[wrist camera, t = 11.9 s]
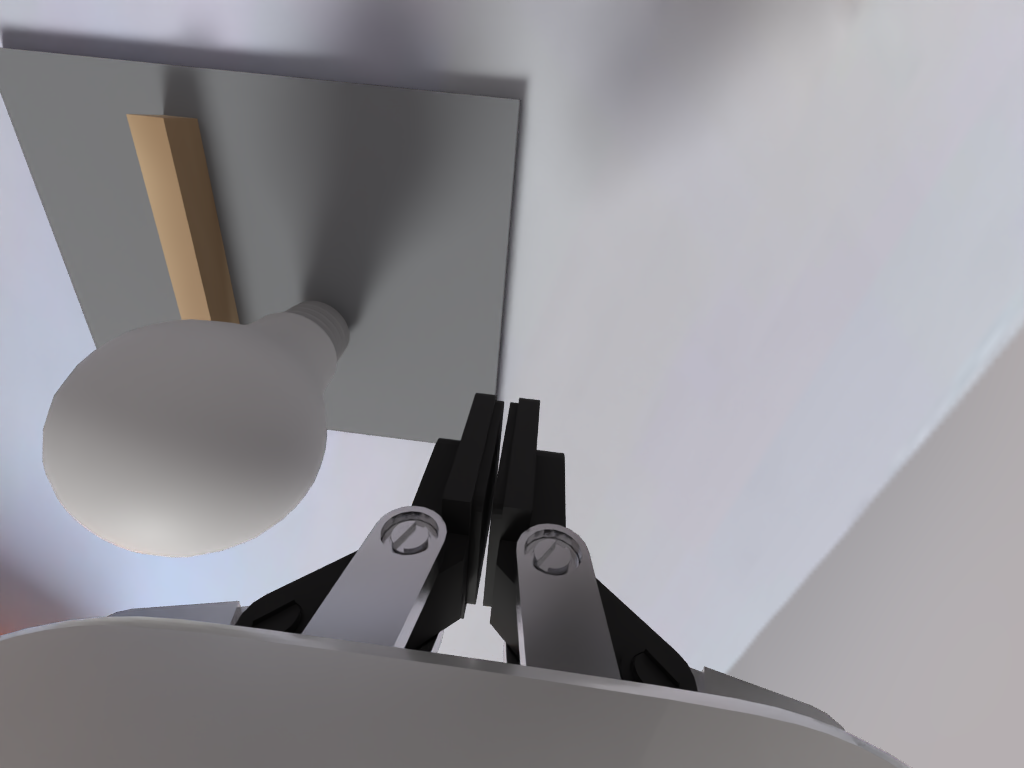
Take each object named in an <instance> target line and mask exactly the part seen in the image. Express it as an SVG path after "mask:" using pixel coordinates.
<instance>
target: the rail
mask: <svg viewBox="0 0 1024 768" xmlns="http://www.w3.org/2000/svg"><path fill="white" fill-rule="evenodd" d="M126 115H127V119H128V123H129V126H130V130H131V134H132V137H133V141H134V145H135V149H136V152H137V156H138V160H139V163H140V167H141V171H142V175H143V178H144V182H145V186H146V189H147V193H148V197H149V201H150V204H151V208H152V212H153V215H154V219H155V223H156V226H157V230H158V234H159V238H160V241H161V245H162V249H163V252H164V256H165V260H166V264H167V267H168V271H169V275H170V278H171V282H172V286H173V290H174V293H175V297H176V301H177V304H178V308H179V312H180V315H181V319H182V320H187V319H195V320H208V321H220V322H229V323H236V324H240V323H239V318H238V313H237V308H236V303H235V299H234V294H233V289H232V284H231V279H230V274H229V270H228V265H227V260H226V255H225V250H224V245H223V241H222V236H221V231H220V226H219V221H218V216H217V212H216V207H215V202H214V197H213V192H212V187H211V182H210V178H209V173H208V168H207V163H206V158H205V153H204V149H203V144H202V139H201V134H200V129H199V124H198V120H197V119H196V118H187V117H177V116H168V115H142V114H126Z"/></svg>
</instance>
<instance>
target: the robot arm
mask: <svg viewBox="0 0 1024 768" xmlns="http://www.w3.org/2000/svg"><path fill="white" fill-rule="evenodd" d="M539 408H540V400H533V399H525V398H519V403H512V402H511V403H510V408H509V414H508V419H507V425H506V430H505V436H504V442H503V447H502V453H501V458H500V464H499V470H498V463H499V452H500V442H501V431H502V420H503V410H504V401H497V395H492V394H484V393H476V394H475V396H474V399H473V403H472V406H471V409H470V412H469V415H468V418H467V422H466V425H465V428H464V431H463V434H462V437H461V440H453V439H445V438H439V439H438V440H437V442H436V445H435V447H434V450H433V452H432V455H431V457H430V460H429V462H428V465H427V468H426V470H425V473H424V475H423V478H422V480H421V483H420V486H419V488H418V491H417V493H416V496H415V498H414V501H413V503H412V506H408V507H401V508H398V509H395V510H392V511H391V512H389V513H387V514H386V515H384V516H383V517H382V518H381V519H380V520H379V521H378V522H377V523H376V525H375V526H374V528H373V529H372V531H371V532H370V533H369V535H368V536H367V538H366V539H365V541H364V542H363V544H362V545H361V547H360V548H359V550H358V551H356V552H354V553H351V554H349V555H347V556H345V557H343V558H341V559H339V560H337V561H335V562H333V563H331V564H329V565H327V566H325V567H322V568H320V569H318V570H316V571H314V572H312V573H310V574H308V575H306V576H304V577H302V578H300V579H298V580H296V581H293V582H291V583H289V584H287V585H285V586H283V587H281V588H279V589H277V590H275V591H273V592H271V593H269V594H267V595H265V596H263V597H262V598H260V599H258V600H257V601H255V602H253V603H252V604H251V605H250V606H245V607H241V606H240V603H239V601H233V602H219V603H205V604H192V605H178V606H165V607H151V608H137V609H129V610H125V611H120V612H116V613H114V614H111V615H109V616H107V617H96V618H86V619H75V620H66V621H61V622H56V623H51V624H46V625H41V626H36V627H31V628H26V629H22V630H19V631H15V632H12V633H8V634H4V635H1V636H0V768H912V767H910V766H909V765H907V764H906V763H904V762H902V761H901V760H899V759H898V758H896V757H894V756H893V755H891V754H889V753H888V752H886V751H884V750H882V749H880V748H878V747H876V746H874V745H872V744H870V743H868V742H866V741H864V740H862V739H860V738H858V737H857V736H855V735H852V734H851V733H849V732H846V731H845V730H844V728H843V727H842V726H841V725H840V724H839V723H837V722H836V721H835V720H834V719H832V717H830V716H829V715H828V714H827V713H825V712H823V711H821V710H819V709H817V708H815V707H813V706H811V705H809V704H806V703H803V702H800V701H797V700H795V699H792V698H789V697H787V696H784V695H781V694H779V693H776V692H773V691H770V690H767V689H765V688H762V687H759V686H757V685H754V684H751V683H748V682H746V681H743V680H740V679H737V678H735V677H732V676H729V675H726V674H724V673H721V672H718V671H715V670H713V669H710V668H707V667H704V668H703V670H702V672H701V671H698V670H695V669H692V668H690V667H689V666H688V664H687V663H686V662H685V661H684V659H683V658H682V657H681V656H680V655H679V654H678V653H677V652H676V651H675V650H674V649H673V648H672V647H671V646H670V645H669V644H668V643H667V642H665V641H664V640H663V639H662V638H661V637H660V636H659V635H658V634H657V633H656V632H654V631H653V630H652V629H651V628H650V627H649V626H648V625H647V624H646V623H645V622H644V621H642V620H641V619H640V618H639V617H638V616H637V615H636V614H635V613H634V612H633V611H632V610H630V609H629V608H628V607H627V606H626V605H625V604H624V603H623V602H622V601H621V600H619V599H618V598H617V597H616V596H615V595H614V594H613V593H612V592H611V591H610V590H609V589H607V588H606V587H605V586H604V585H603V584H602V583H601V582H600V581H599V580H598V579H597V578H596V577H595V573H594V570H593V566H592V562H591V558H590V554H589V551H588V548H587V546H586V544H585V542H584V541H583V540H582V539H581V538H580V536H579V535H577V534H576V533H575V532H573V531H572V530H570V529H568V528H566V515H565V456H564V453H556V452H548V451H540V450H537V436H538V422H539ZM497 473H498V475H497ZM490 520H491V523H490ZM489 526H490V534H489V545H488V556H487V567H486V578H485V589H484V600H483V606H490V607H492V608H491V617H490V624H491V625H492V626H493V627H494V629H495V630H496V631H497V632H498V633H499V635H500V636H501V637H502V638H503V640H504V646H503V660H504V663H503V662H496V661H489V660H482V659H475V658H468V657H461V656H454V655H447V654H440V653H437V652H438V650H439V647H440V644H441V642H442V638H443V633H444V629H445V628H447V627H448V626H450V625H451V624H453V623H454V622H456V621H457V620H459V619H460V618H462V619H464V614H465V609H466V604H467V603H469V604H476V599H477V594H478V588H479V582H480V577H481V571H482V565H483V560H484V554H485V548H486V543H487V537H488V531H489Z"/></svg>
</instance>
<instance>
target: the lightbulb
mask: <svg viewBox="0 0 1024 768" xmlns="http://www.w3.org/2000/svg"><path fill="white" fill-rule="evenodd" d="M349 338H350V334H349V329H348V325H347V323H346V321H345V320H344V318H343V317H342V316H341V314H340V313H339V312H338V311H337V310H335V309H334V308H333V307H331V306H329V305H327V304H325V303H322V302H319V301H305V302H301V303H299V304H298V305H295V306H293V307H291V308H290V309H288V310H286V311H284V312H280V313H273V314H270V315H266V316H265V317H263V318H261V319H259V320H257V321H255V322H253V323H250V324H247V325H242V324H236V323H229V322H220V321H208V320H195V319H187V320H174V321H167V322H162V323H157V324H152V325H147V326H144V327H141V328H138V329H135V330H131V331H128V332H126V333H124V334H122V335H120V336H118V337H116V338H114V339H112V340H110V341H108V342H107V343H105V344H104V345H102V346H101V347H99V348H98V349H96V350H95V351H93V352H92V353H91V354H90V355H89V356H87V357H86V358H85V359H84V360H83V361H82V362H80V363H79V364H78V365H77V366H76V368H75V369H74V370H73V371H72V373H71V374H70V375H69V376H68V378H67V379H66V380H65V381H64V383H63V384H62V385H61V387H60V388H59V389H58V391H57V392H56V393H55V395H54V397H53V400H52V403H51V406H50V409H49V412H48V415H47V418H46V422H45V425H44V428H43V465H44V469H45V472H46V476H47V478H48V480H49V482H50V484H51V486H52V488H53V490H54V492H55V494H56V496H57V498H58V500H59V502H60V503H61V504H62V506H63V507H64V508H65V510H66V511H67V512H68V513H69V514H70V515H71V516H72V517H73V518H74V519H75V520H76V521H77V522H78V523H80V524H81V525H82V526H83V527H85V528H86V529H87V530H88V531H90V532H92V533H93V534H95V535H96V536H98V537H100V538H101V539H103V540H105V541H107V542H109V543H111V544H113V545H116V546H118V547H121V548H124V549H126V550H129V551H133V552H137V553H141V554H148V555H157V556H166V557H192V556H197V555H203V554H208V553H213V552H219V551H223V550H226V549H229V548H231V547H234V546H237V545H239V544H242V543H244V542H247V541H249V540H252V539H254V538H256V537H258V536H259V535H261V534H262V533H264V532H265V531H267V530H268V529H270V528H271V527H273V526H274V525H275V524H277V523H278V522H280V521H281V520H282V519H284V518H285V517H286V516H287V515H288V514H289V513H290V512H291V511H292V510H293V509H294V508H295V507H296V506H297V505H298V504H299V503H300V501H301V500H302V499H303V498H304V496H305V495H306V494H307V492H308V491H309V489H310V487H311V486H312V484H313V483H314V481H315V479H316V476H317V474H318V472H319V469H320V467H321V463H322V460H323V456H324V453H325V448H326V440H327V426H326V413H325V405H324V399H323V393H324V391H325V388H326V386H327V385H328V383H329V382H330V380H331V379H332V377H333V375H334V373H335V370H336V364H337V362H338V360H339V359H340V358H341V356H342V355H343V353H344V351H345V349H346V348H347V346H348V344H349Z"/></svg>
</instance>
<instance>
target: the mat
mask: <svg viewBox="0 0 1024 768" xmlns="http://www.w3.org/2000/svg"><path fill="white" fill-rule="evenodd" d="M0 93H1V95H2V98H3V101H4V103H5V106H6V109H7V111H8V114H9V117H10V119H11V122H12V125H13V127H14V130H15V133H16V135H17V138H18V141H19V143H20V146H21V149H22V151H23V154H24V157H25V159H26V162H27V165H28V167H29V170H30V173H31V175H32V178H33V181H34V183H35V186H36V189H37V191H38V194H39V197H40V199H41V202H42V205H43V207H44V210H45V212H46V215H47V218H48V220H49V223H50V226H51V228H52V231H53V234H54V236H55V239H56V242H57V244H58V247H59V250H60V252H61V255H62V258H63V260H64V263H65V266H66V268H67V271H68V274H69V276H70V279H71V282H72V284H73V287H74V290H75V292H76V295H77V298H78V300H79V303H80V306H81V308H82V311H83V314H84V316H85V319H86V322H87V324H88V327H89V330H90V332H91V335H92V338H93V340H94V343H95V346H96V348H97V349H98V348H99V347H101V346H102V345H104V344H105V343H107V342H108V341H110V340H112V339H114V338H116V337H118V336H120V335H122V334H124V333H126V332H128V331H131V330H135V329H138V328H141V327H144V326H147V325H152V324H157V323H162V322H167V321H174V320H182V319H181V315H180V312H179V308H178V304H177V301H176V297H175V293H174V290H173V286H172V282H171V278H170V275H169V271H168V267H167V264H166V260H165V256H164V252H163V249H162V245H161V241H160V238H159V234H158V230H157V226H156V223H155V219H154V215H153V212H152V208H151V204H150V201H149V197H148V193H147V189H146V186H145V182H144V178H143V175H142V171H141V167H140V163H139V160H138V156H137V152H136V149H135V145H134V141H133V137H132V134H131V130H130V126H129V123H128V119H127V115H126V114H142V115H168V116H177V117H187V118H196V119H197V120H198V124H199V129H200V134H201V139H202V144H203V149H204V153H205V158H206V163H207V168H208V173H209V178H210V182H211V187H212V192H213V197H214V202H215V207H216V212H217V216H218V221H219V226H220V231H221V236H222V241H223V245H224V250H225V255H226V260H227V265H228V270H229V274H230V279H231V284H232V289H233V294H234V299H235V303H236V308H237V313H238V318H239V323H240V324H242V325H247V324H250V323H253V322H255V321H257V320H259V319H261V318H263V317H265V316H266V315H270V314H273V313H280V312H284V311H286V310H288V309H290V308H291V307H293V306H295V305H298V304H299V303H301V302H305V301H319V302H322V303H325V304H327V305H329V306H331V307H333V308H334V309H335V310H337V311H338V312H339V313H340V314H341V316H342V317H343V318H344V320H345V321H346V323H347V325H348V329H349V334H350V338H349V344H348V346H347V348H346V349H345V351H344V353H343V355H342V356H341V358H340V359H339V360H338V362H337V364H336V370H335V373H334V375H333V377H332V379H331V380H330V382H329V383H328V385H327V386H326V388H325V391H324V393H323V399H324V405H325V413H326V426H327V430H335V431H342V432H350V433H358V434H366V435H374V436H382V437H390V438H398V439H406V440H414V441H422V442H430V443H436V442H437V440H438V439H439V438H445V439H453V440H461V437H462V434H463V431H464V428H465V425H466V422H467V418H468V415H469V412H470V409H471V406H472V403H473V399H474V396H475V394H476V393H484V394H492V395H496V389H497V377H498V365H499V353H500V341H501V329H502V318H503V306H504V294H505V282H506V270H507V258H508V246H509V234H510V222H511V210H512V198H513V186H514V174H515V162H516V151H517V139H518V127H519V115H520V103H521V100H518V99H508V98H498V97H488V96H478V95H468V94H458V93H448V92H438V91H428V90H418V89H408V88H398V87H388V86H378V85H368V84H358V83H348V82H338V81H328V80H318V79H308V78H298V77H288V76H278V75H268V74H258V73H248V72H238V71H228V70H218V69H208V68H198V67H188V66H178V65H168V64H158V63H148V62H138V61H128V60H118V59H109V58H99V57H89V56H79V55H69V54H59V53H49V52H39V51H29V50H19V49H9V48H0Z"/></svg>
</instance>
